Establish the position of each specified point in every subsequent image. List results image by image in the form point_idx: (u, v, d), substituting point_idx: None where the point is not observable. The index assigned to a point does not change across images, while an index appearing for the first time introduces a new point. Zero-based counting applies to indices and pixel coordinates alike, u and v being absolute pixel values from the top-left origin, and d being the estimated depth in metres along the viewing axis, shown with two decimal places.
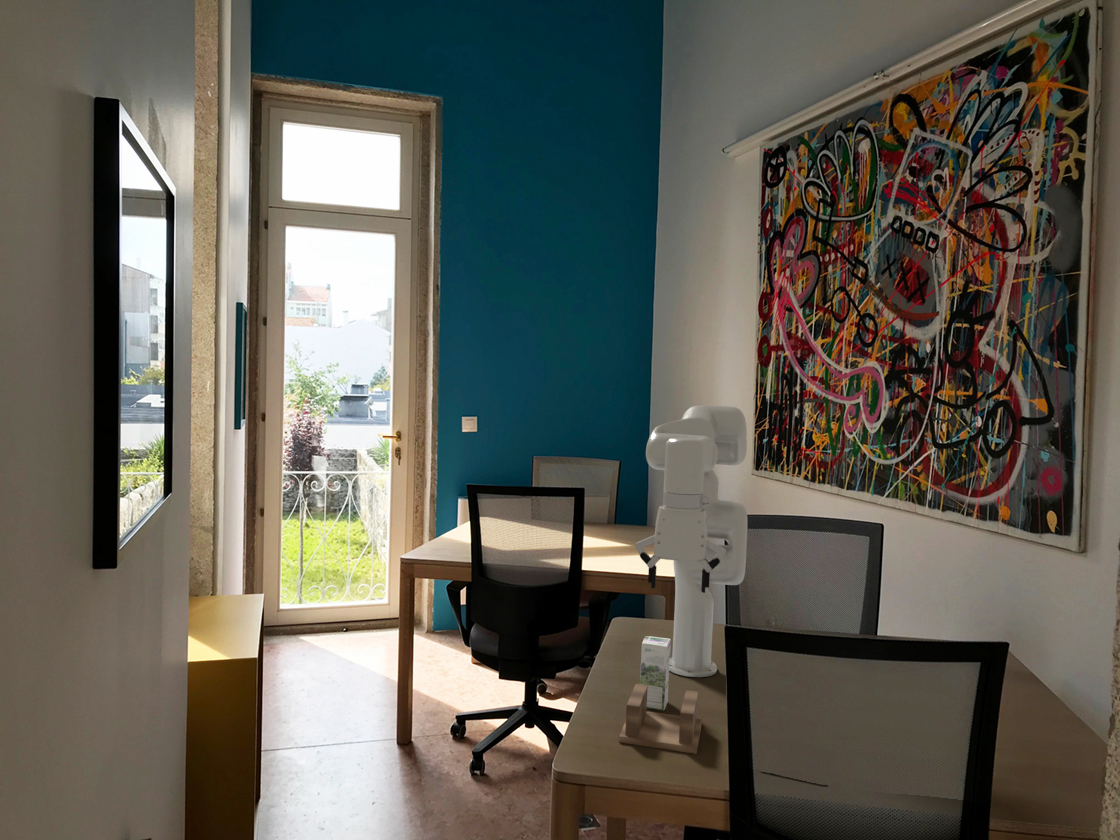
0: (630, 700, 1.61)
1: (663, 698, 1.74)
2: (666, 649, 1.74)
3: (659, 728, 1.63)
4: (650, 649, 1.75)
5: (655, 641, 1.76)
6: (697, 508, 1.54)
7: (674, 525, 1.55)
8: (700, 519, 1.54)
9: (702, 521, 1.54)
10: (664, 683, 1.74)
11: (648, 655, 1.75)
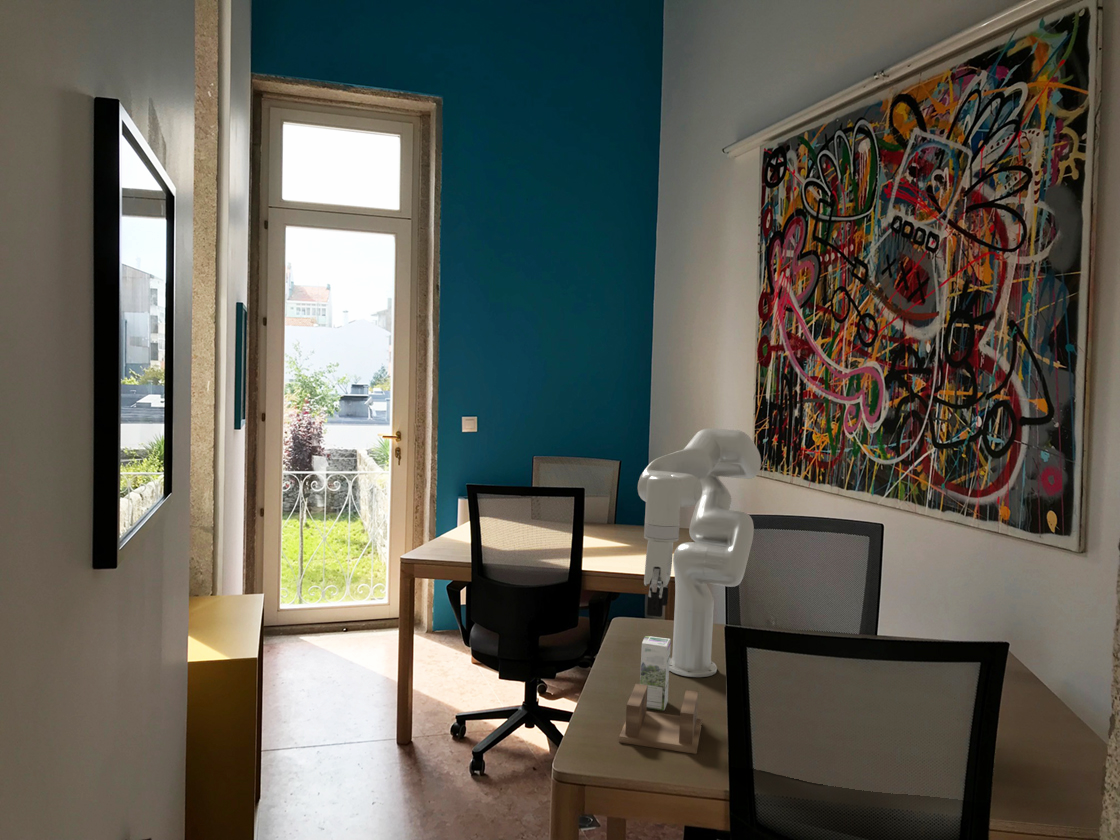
0: (630, 700, 1.61)
1: (663, 698, 1.74)
2: (666, 649, 1.74)
3: (659, 728, 1.63)
4: (650, 649, 1.75)
5: (655, 641, 1.76)
6: None
7: (671, 554, 1.74)
8: None
9: None
10: (664, 683, 1.74)
11: (648, 655, 1.75)
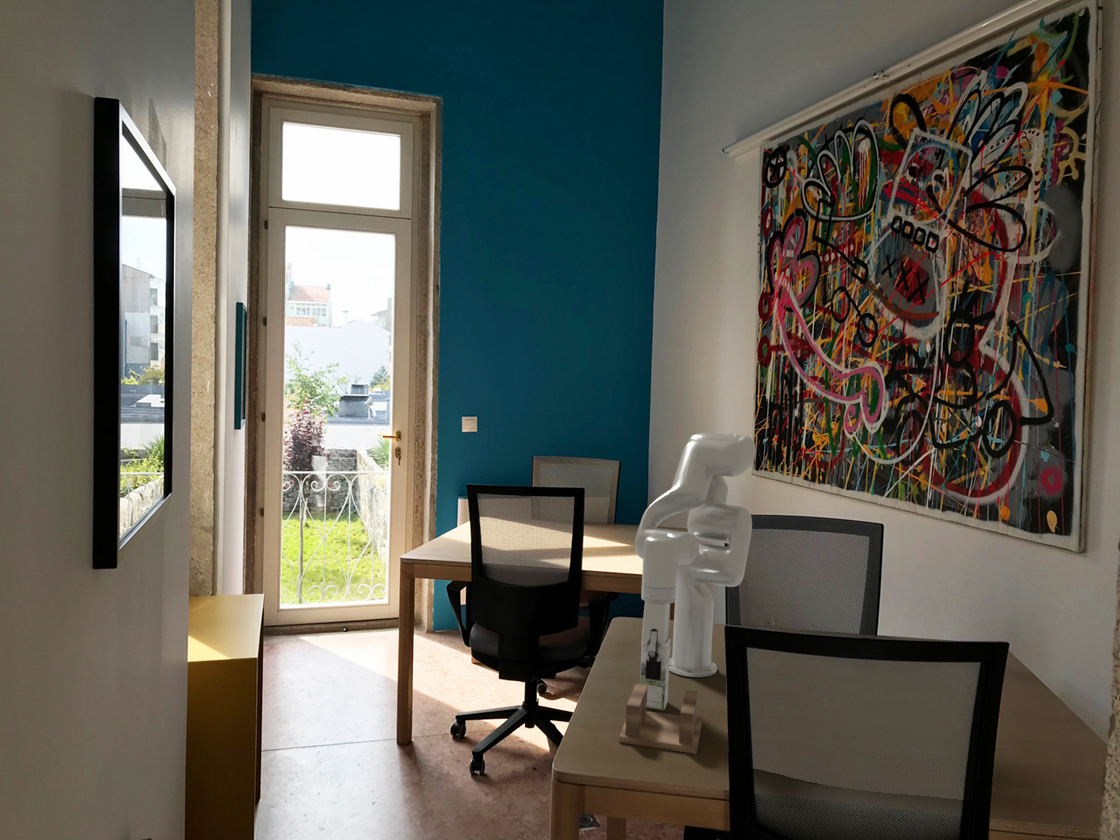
0: (630, 700, 1.61)
1: (663, 698, 1.74)
2: (666, 649, 1.74)
3: (659, 728, 1.63)
4: None
5: None
6: None
7: (668, 615, 1.75)
8: None
9: None
10: (664, 683, 1.74)
11: None
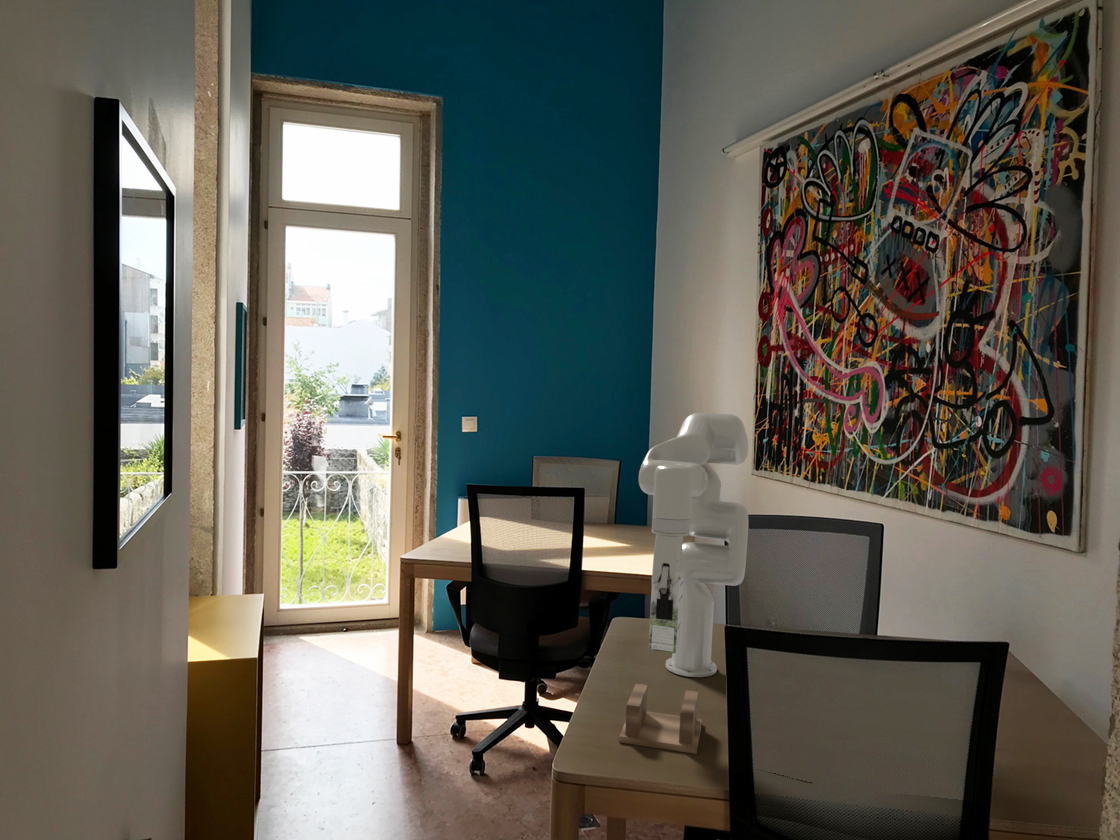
0: (630, 700, 1.61)
1: (675, 640, 1.61)
2: (678, 586, 1.60)
3: (659, 728, 1.63)
4: None
5: None
6: None
7: (681, 549, 1.61)
8: None
9: None
10: (676, 623, 1.60)
11: None
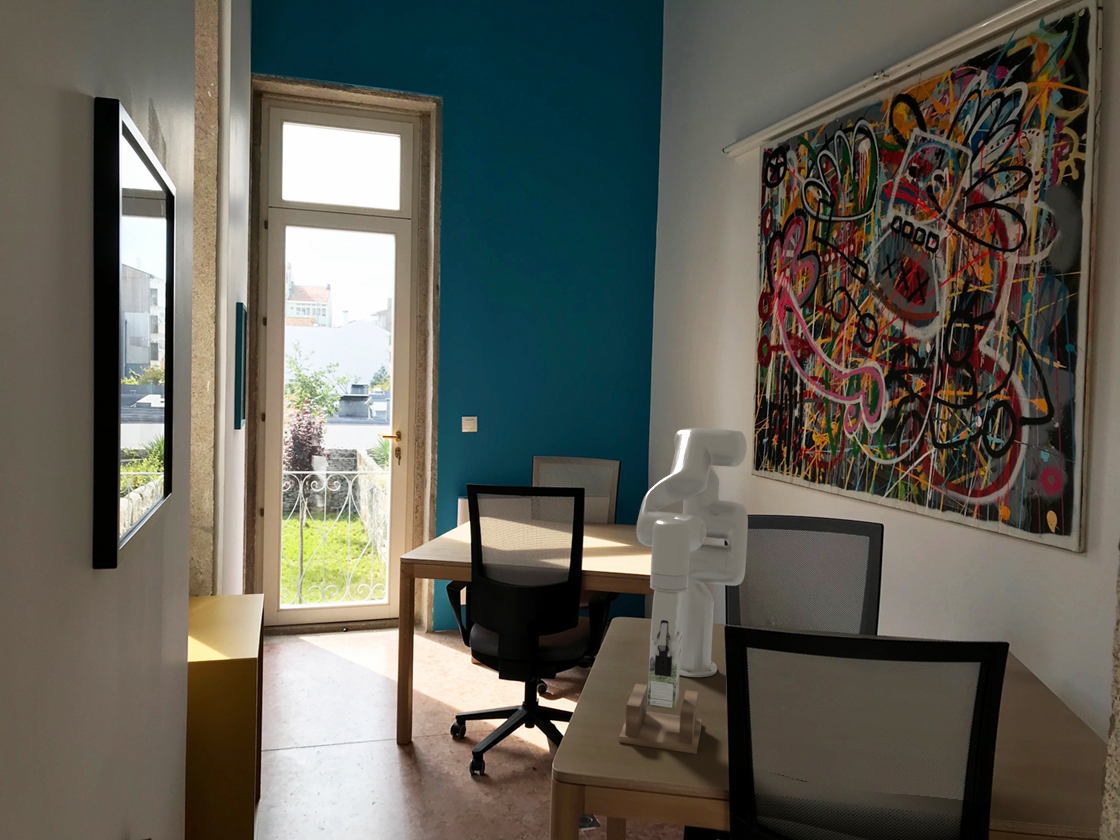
0: (630, 700, 1.61)
1: (674, 696, 1.60)
2: (677, 642, 1.59)
3: (659, 728, 1.63)
4: None
5: None
6: None
7: (679, 605, 1.60)
8: None
9: None
10: (675, 679, 1.59)
11: None
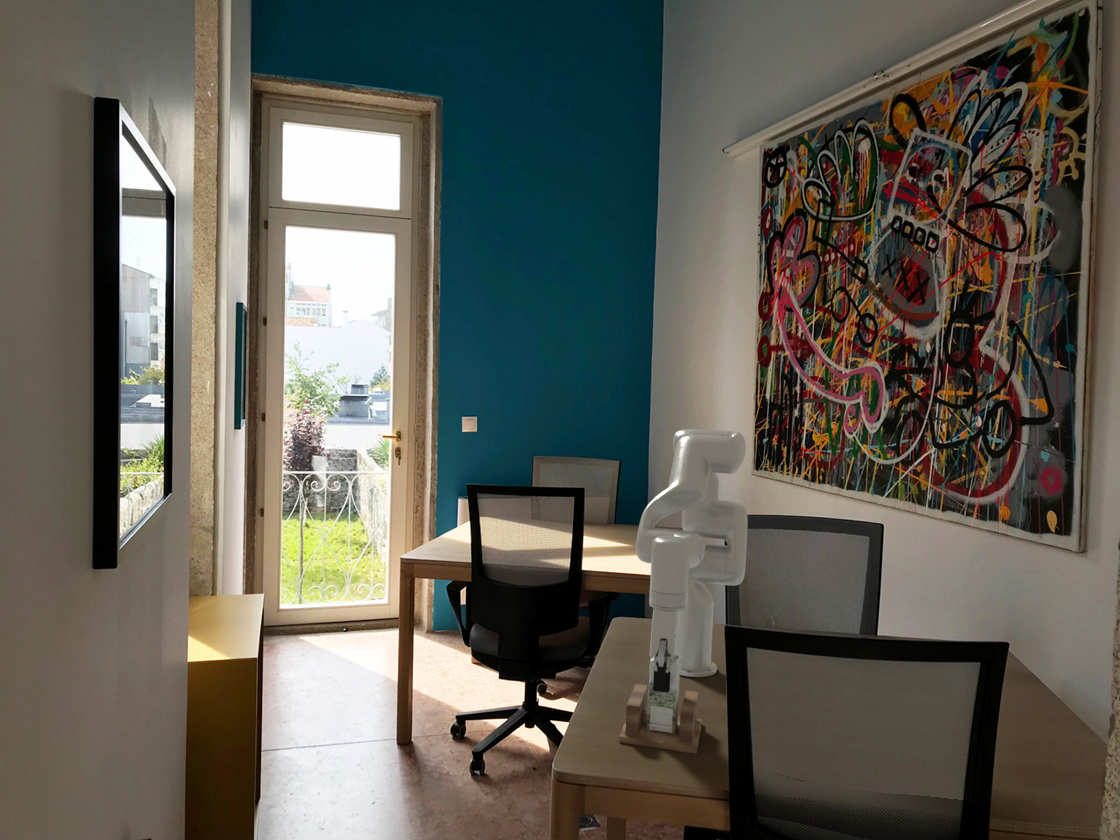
0: (630, 700, 1.61)
1: (673, 721, 1.60)
2: (677, 667, 1.59)
3: None
4: None
5: None
6: None
7: (679, 623, 1.61)
8: None
9: None
10: (674, 704, 1.60)
11: None
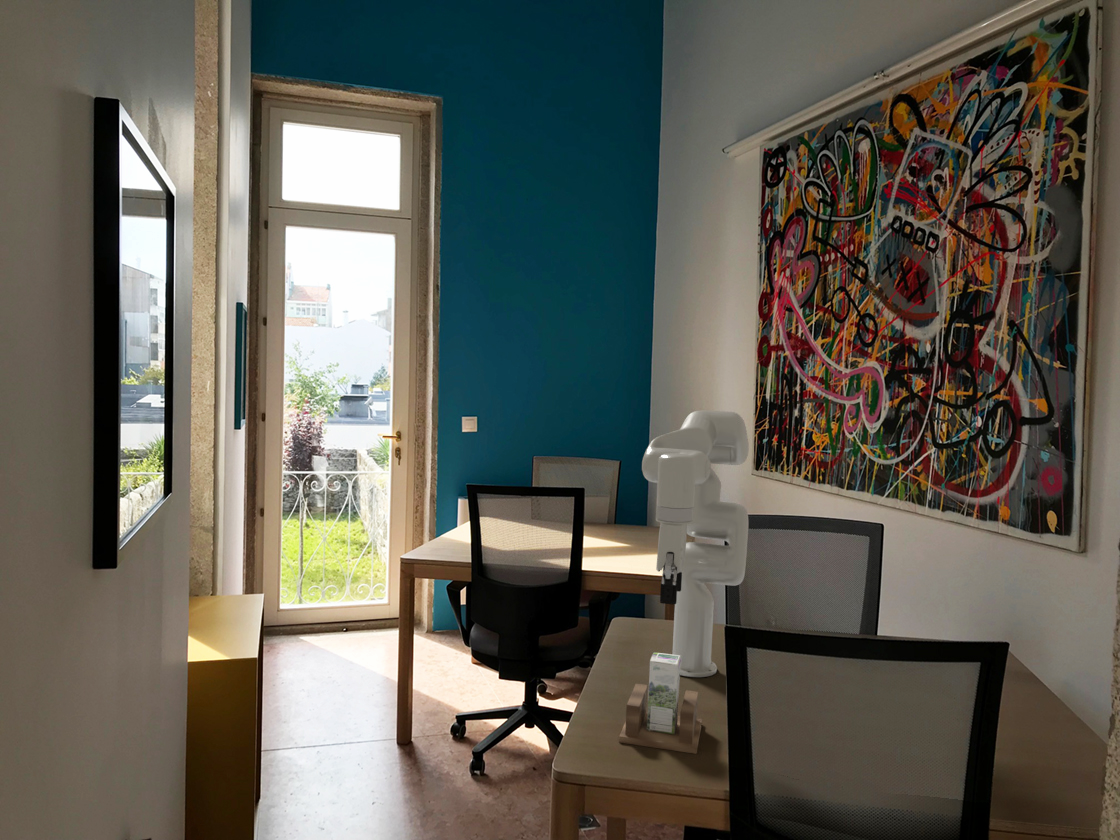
0: (630, 700, 1.61)
1: (673, 721, 1.60)
2: (677, 667, 1.59)
3: None
4: (659, 667, 1.60)
5: (665, 658, 1.62)
6: None
7: (685, 537, 1.63)
8: None
9: None
10: (674, 704, 1.60)
11: (656, 673, 1.60)
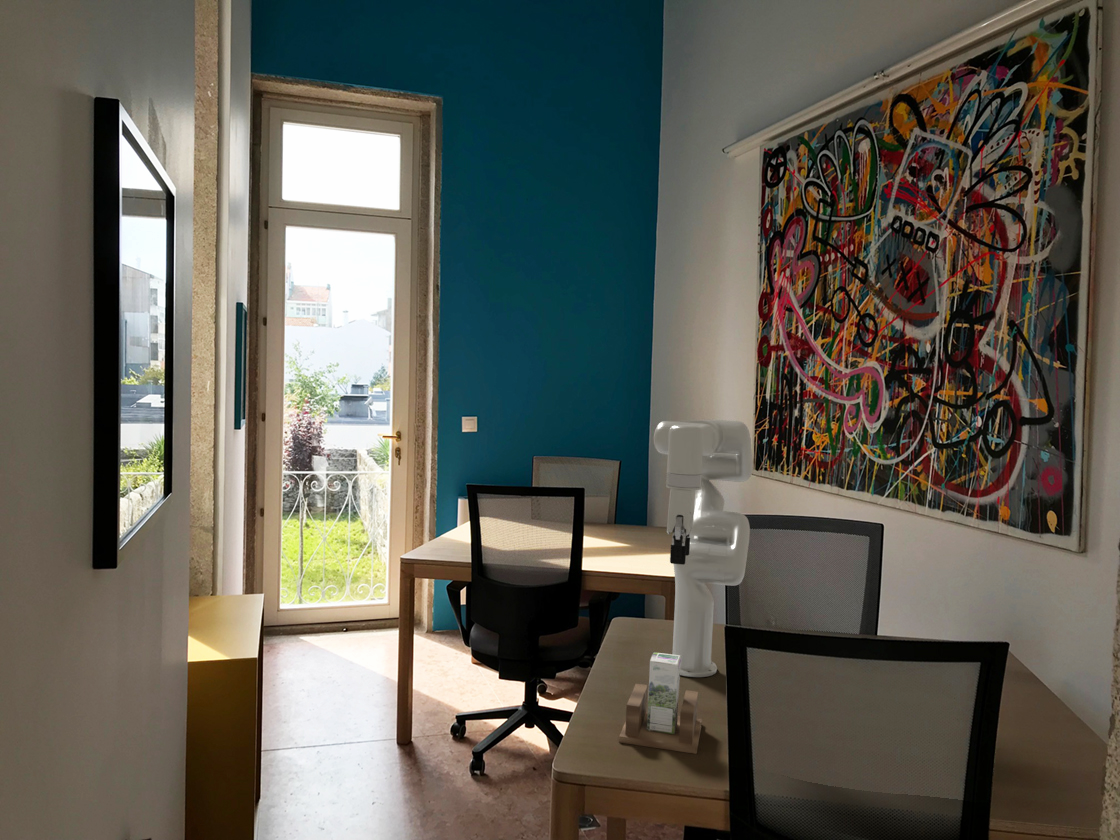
0: (630, 700, 1.61)
1: (673, 721, 1.60)
2: (677, 667, 1.59)
3: None
4: (659, 667, 1.60)
5: (665, 658, 1.62)
6: None
7: (693, 502, 1.75)
8: None
9: None
10: (674, 704, 1.60)
11: (656, 673, 1.60)
